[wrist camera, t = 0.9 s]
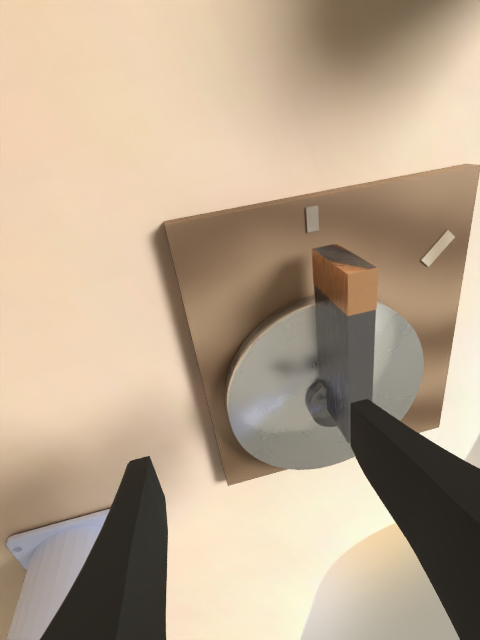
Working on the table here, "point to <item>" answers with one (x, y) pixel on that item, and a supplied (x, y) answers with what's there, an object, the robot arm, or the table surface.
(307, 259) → the dial board
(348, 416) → the dial
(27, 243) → the table surface
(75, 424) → the table surface
